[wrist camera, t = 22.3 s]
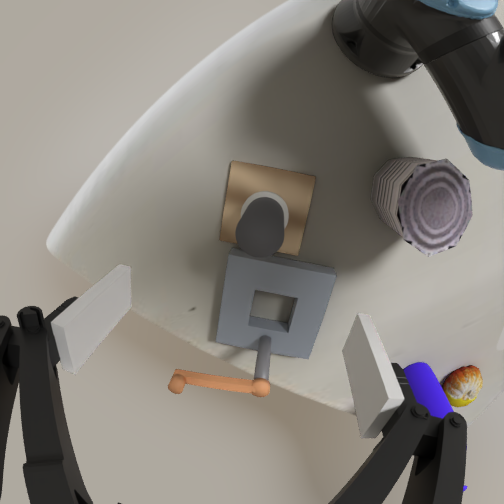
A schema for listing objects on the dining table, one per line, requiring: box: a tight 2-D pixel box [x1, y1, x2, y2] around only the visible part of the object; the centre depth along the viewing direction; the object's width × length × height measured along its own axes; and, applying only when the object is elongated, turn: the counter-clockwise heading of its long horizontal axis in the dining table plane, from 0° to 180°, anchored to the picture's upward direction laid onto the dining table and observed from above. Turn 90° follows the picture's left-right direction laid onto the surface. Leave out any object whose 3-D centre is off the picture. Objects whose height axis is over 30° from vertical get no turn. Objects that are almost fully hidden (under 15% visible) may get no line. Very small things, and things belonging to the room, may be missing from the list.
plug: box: [235, 191, 289, 258], centre depth 36 cm, size 6×6×13 cm
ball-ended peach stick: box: [168, 369, 270, 397], centre depth 36 cm, size 13×3×3 cm, turn 86°
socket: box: [216, 248, 337, 380], centre depth 42 cm, size 16×16×13 cm
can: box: [371, 157, 472, 257], centre depth 34 cm, size 11×11×12 cm
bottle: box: [404, 362, 467, 491], centre depth 37 cm, size 8×8×30 cm
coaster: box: [220, 161, 316, 256], centre depth 43 cm, size 12×12×1 cm
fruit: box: [442, 365, 482, 407], centre depth 49 cm, size 11×10×8 cm
